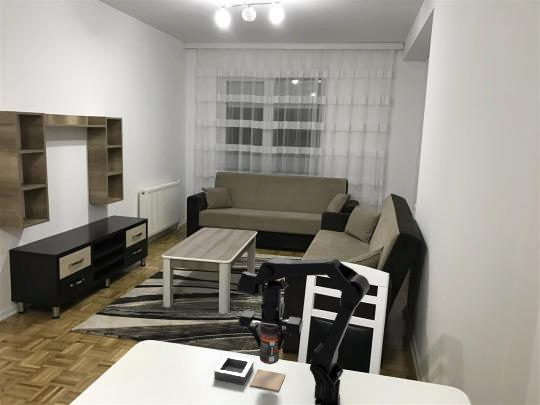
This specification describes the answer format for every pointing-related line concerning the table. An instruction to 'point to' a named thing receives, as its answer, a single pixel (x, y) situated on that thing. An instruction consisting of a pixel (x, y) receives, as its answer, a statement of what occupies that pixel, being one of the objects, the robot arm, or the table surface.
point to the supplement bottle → (269, 344)
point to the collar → (232, 376)
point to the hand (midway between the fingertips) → (269, 347)
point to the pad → (268, 380)
